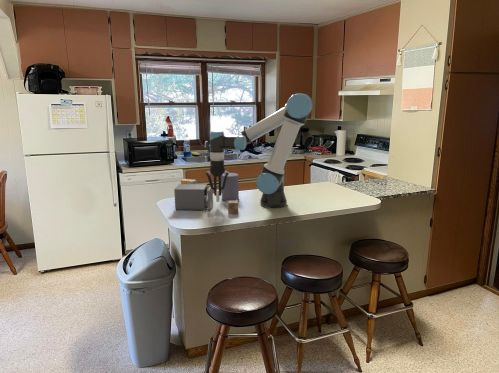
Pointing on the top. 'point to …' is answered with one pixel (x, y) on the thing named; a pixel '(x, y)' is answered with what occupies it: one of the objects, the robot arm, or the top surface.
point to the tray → (209, 199)
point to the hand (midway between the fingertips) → (217, 201)
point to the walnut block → (233, 207)
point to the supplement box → (188, 181)
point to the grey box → (190, 197)
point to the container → (230, 187)
